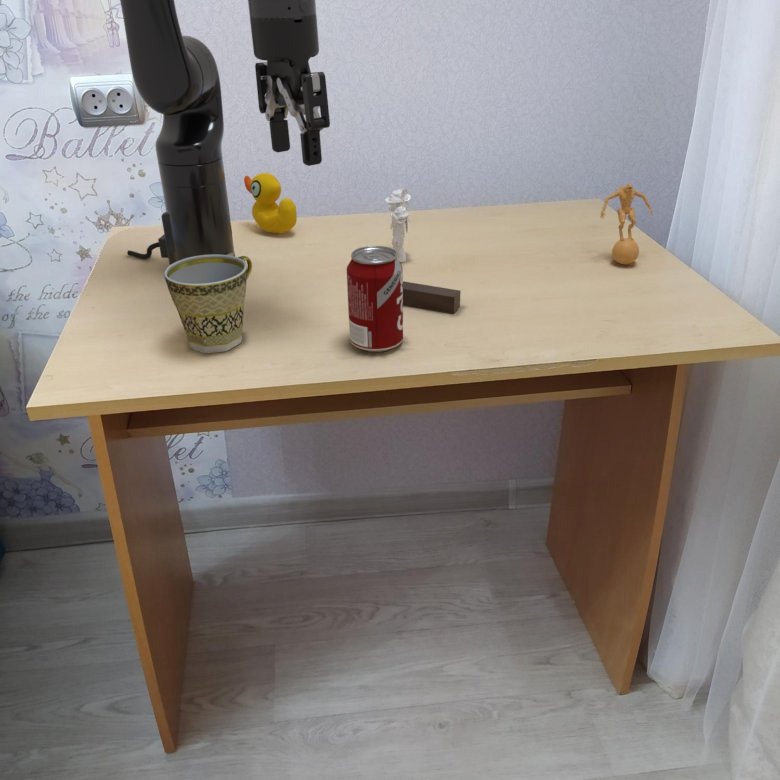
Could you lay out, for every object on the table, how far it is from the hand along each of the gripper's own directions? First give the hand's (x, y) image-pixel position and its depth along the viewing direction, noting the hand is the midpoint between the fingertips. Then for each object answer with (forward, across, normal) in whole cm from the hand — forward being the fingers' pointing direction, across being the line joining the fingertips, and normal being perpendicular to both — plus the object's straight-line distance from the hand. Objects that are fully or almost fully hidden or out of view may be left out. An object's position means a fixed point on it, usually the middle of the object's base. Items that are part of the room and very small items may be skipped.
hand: (296, 157), depth 95 cm
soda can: (+22, +12, +3) cm, 25 cm away
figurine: (+22, +10, +50) cm, 55 cm away
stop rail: (+22, +5, +14) cm, 26 cm away
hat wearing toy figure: (+22, -11, +22) cm, 32 cm away
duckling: (+21, -35, +10) cm, 42 cm away
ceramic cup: (+21, 0, -13) cm, 25 cm away
